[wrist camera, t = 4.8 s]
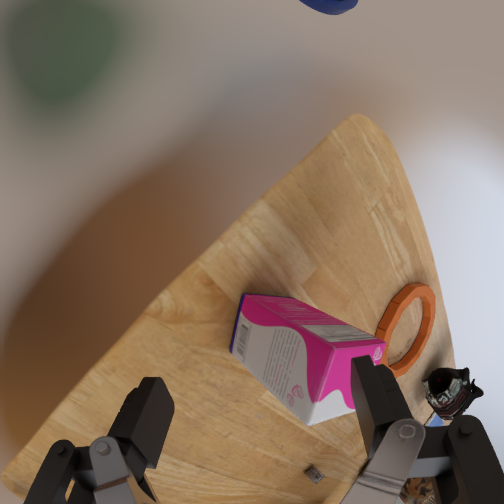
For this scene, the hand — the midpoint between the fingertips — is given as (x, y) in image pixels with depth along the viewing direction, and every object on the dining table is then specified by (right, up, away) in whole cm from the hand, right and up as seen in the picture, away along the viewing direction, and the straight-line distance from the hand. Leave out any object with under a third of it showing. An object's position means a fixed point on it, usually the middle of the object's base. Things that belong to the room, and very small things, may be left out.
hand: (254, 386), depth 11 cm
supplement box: (+1, -1, +16) cm, 16 cm away
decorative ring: (+9, -29, +25) cm, 39 cm away
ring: (+23, -6, +28) cm, 36 cm away
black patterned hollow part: (+36, -22, +38) cm, 57 cm away
